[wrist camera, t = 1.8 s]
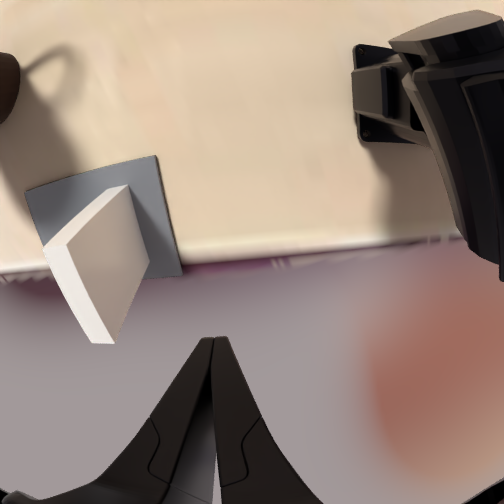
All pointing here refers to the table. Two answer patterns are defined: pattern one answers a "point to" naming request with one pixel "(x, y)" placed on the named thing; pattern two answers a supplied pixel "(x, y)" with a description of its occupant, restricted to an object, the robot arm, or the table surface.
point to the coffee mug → (8, 84)
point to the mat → (93, 185)
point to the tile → (100, 263)
